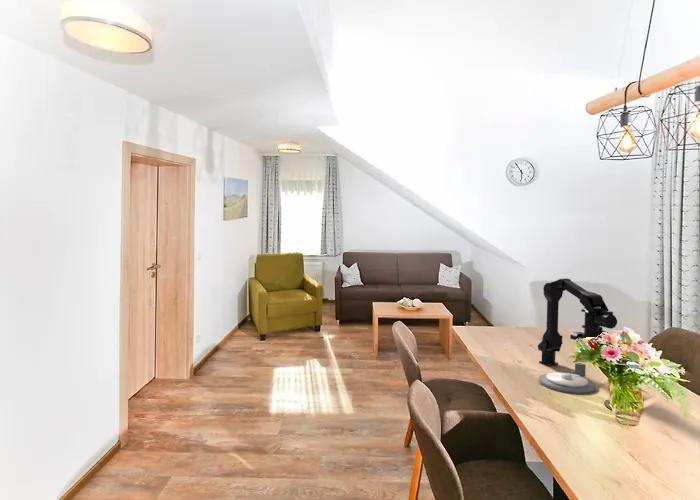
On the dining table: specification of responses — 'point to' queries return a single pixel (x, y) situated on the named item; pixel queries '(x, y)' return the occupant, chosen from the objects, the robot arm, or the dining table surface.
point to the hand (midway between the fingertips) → (591, 360)
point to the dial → (570, 377)
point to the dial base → (575, 390)
